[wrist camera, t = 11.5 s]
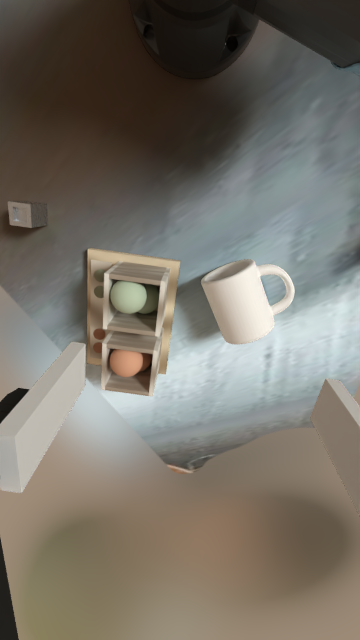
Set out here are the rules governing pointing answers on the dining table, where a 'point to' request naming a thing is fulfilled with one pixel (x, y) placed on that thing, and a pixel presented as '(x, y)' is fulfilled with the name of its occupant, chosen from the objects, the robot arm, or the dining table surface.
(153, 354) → the rack
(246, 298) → the mug
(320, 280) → the dining table surface
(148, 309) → the ball sage lower
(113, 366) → the ball terracotta
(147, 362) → the ball terracotta in tube
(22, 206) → the post
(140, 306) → the ball sage upper
